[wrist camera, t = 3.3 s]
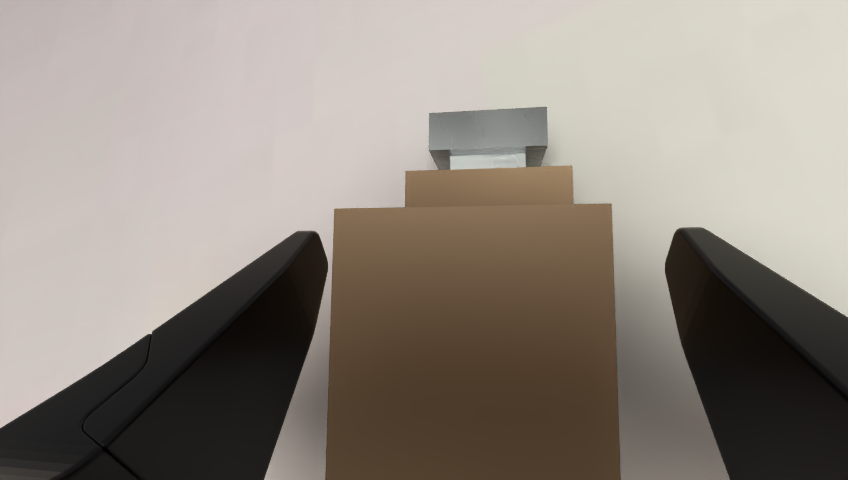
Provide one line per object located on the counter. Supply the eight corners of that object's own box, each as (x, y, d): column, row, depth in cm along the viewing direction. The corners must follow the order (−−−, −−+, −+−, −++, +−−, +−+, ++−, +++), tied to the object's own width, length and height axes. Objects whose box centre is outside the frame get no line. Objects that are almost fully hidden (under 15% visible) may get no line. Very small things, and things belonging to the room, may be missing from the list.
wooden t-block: (563, 348, 14) (744, 523, 4) (418, 343, 15) (233, 476, 5) (559, 186, 15) (710, -59, 4) (420, 189, 16) (259, -9, 5)
